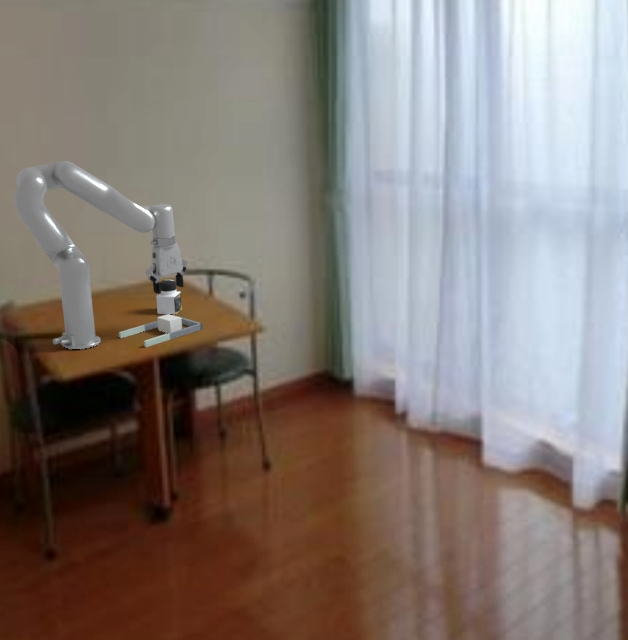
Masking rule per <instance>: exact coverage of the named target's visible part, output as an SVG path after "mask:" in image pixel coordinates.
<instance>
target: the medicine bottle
mask: <svg viewBox="0 0 628 640" xmlns="http://www.w3.org/2000/svg"><path fill="white" fill-rule="evenodd" d="M159 282H160V285H161V294H157V295H156V296H155V297H156V310H157V311H156V312H157V314H158V315H167V314H173V315H174V316H175V314H176V315H177V314H178V313H179V312H180V311H182V309H183V306H182V293H181V291H177V290H178V289H177V285H176V280H173V279H164V280H161V281H159Z"/></svg>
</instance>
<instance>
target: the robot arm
mask: <svg viewBox="0 0 628 640" xmlns="http://www.w3.org/2000/svg"><path fill="white" fill-rule="evenodd" d="M15 182H16V186H17V188H16V190H15V195H14V207H15V211H16V213H17V215H18V217H19V219H20V220H21V221H22V223H23V224H24V225H25V227H26V228H27V229H28V231H29V232H30V234H31V235H32V236H33V238H34V240H35V241H36V243H37V245H38V246H39V248H40V249H41V250H42V251H43V253H44V254H45V255H46V256H47V257H48V259H49V260H50V261H51V263H52V264H53V266H55V269H57V271H58V275H59V283H60V284H59V285H60V295H61V297H60V298H61V303H62V305H61V307H62V312H63V313H62V314H63V322H64V331H65V332H62V335H61V336H60V337H57V338H56V337H55V338H52V344H53V345H58V344H61V345H62V348H64V347H65V349H66V348H68V349H67V350H72V349H80V350H86V349H85V348H87V349H91V348H90V347H92V348H94V347H97V346H99V345H100V344H101V337H100V336H99V335H96V329H95V328H96V327H95V319H94V310H93V307H94V306H93V298H92V290H91V288H92V287H91V268H90V264H89V261H88V259H87V257H86V256H85V255H84V254H83V253H82V252H81V251H80V249H79V248H78V247H77V245H76V244H75V243H74V241H73V240H72V239H71V237H70V236H69V234H67V232H66V230H65V229H64V228H63V226H62V225H61V224H60V223H58V222H57V220H56V219H55V218H54V216H53V215H52V214H51V212H50V211H49V209H48V208H47V207H46V205H45V203H44V196H45V195H46V192H49V191H52V190H53V191H54V190H59V189H63V190H65V191H66V192H67V193H69V194H72V195H74V197H77V198H78V199H81V201H84V202H85V203H87V204H88V205H91V206H92V207H93V208H96V209H98V211H101V212H102V213H104V214H106V215H109V216H110V217H112V218H114V219H116V220H117V221H119V222H121V223H123V224H124V225H125V226H128V227H130V228H131V229H133V230H135V231H137V232H138V233H143V234H144V233H149V232H150V231H151V235H152V236H151V237H152V240H151V241H150V244H151V245H152V247H151V266H149V268H147V269H146V271H144V273H145V275H146V277H147V279H148V280H149V281H151V283H152V287H153V288H152V289H153V292H154V294H157V295H158V294H161V285H160V282H161V281H160V280H161V278H162V277H163V278H164V277H168V276H171V275H174V274H175V282H176V287H179V288H184V286H185V285H184V276H185V272H186V271H187V267H188V263H189V262H188V260H185V259H182V253H181V249H180V247H179V243H177V241H176V232H175V223H174V222H175V221H174V211H173V209H174V208H173V207H172V205H170V204H167V203H160V204H155V205H139V204H137V203H135V202H133V201H132V200H130V199H129V198H127V197H126V196H124V195H123V194H121V193H120V192H119V191H118V190H117V189H115V188H114V187H113V186H111V185H110V184H108V183H107V182H105V181H103V180H101V179H100V178H98V177H96V176H95V175H93V174H91V173H89V172H88V171H86V170H85V169H84V168H82V167H79V166H78V165H76V164H75V163H73V162H71V161H67V160H64V161H63V160H61V161H56V162H51V163H46V164H42V165H41V164H40V165H34V166H29V167H24V168H23V169H22V170H20V171H19V172H18V174H17V175H16V181H15ZM152 274H153V275H152ZM99 343H100V344H99ZM96 345H97V346H96ZM93 346H94V347H93Z"/></svg>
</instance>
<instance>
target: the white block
mask: <svg viewBox="0 0 628 640" xmlns="http://www.w3.org/2000/svg"><path fill="white" fill-rule="evenodd" d="M177 316H178V315H176V316H175V315H170V314H163V315H161V316H158V317H157V321H158V327H157V329H158V330H159V331H158V332H161V331H162V333H164V332H165V333H164V334H167V333H171V332H174V331H177V330H180V329H183V324H182V320H181V318H180V317H181V316H179V317H177Z"/></svg>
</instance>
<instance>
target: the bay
mask: <svg viewBox="0 0 628 640" xmlns="http://www.w3.org/2000/svg"><path fill="white" fill-rule="evenodd" d="M174 316H177V317H180V318H181V320H182V325H185V326H187V327H184V328H182V329H180V330H177V331H174V332H171V333H168V334H167V333H164V334H162V335H158V336H154V337H152V338H149V339H146V340H143V346H144V347H145V348H148V347H151V346H155V345H158V344H160V343H164V342H168V341H170V340H173V339H176V338H180V337H183V336H186V335H189V334H192V333H195V332H198V331H202V330H204V327H203V323H201V322H199V321H194V320H192V319H188V318H185V317H182V316H178V315H177V314H176V315H174ZM153 328H154V329H156V328H157V329H158V320H155V321H152V322H148V323H145V324H142V325H138V326H135V327H131V328H128V329H126V330H121V331H119V332H118V337H120V338H119V339H124V338H127V337H131V336H133V335H136V334H140V332H141V333H144V332H147V331H150V330H153ZM146 330H147V331H146ZM143 331H144V332H143ZM123 337H124V338H123Z"/></svg>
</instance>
